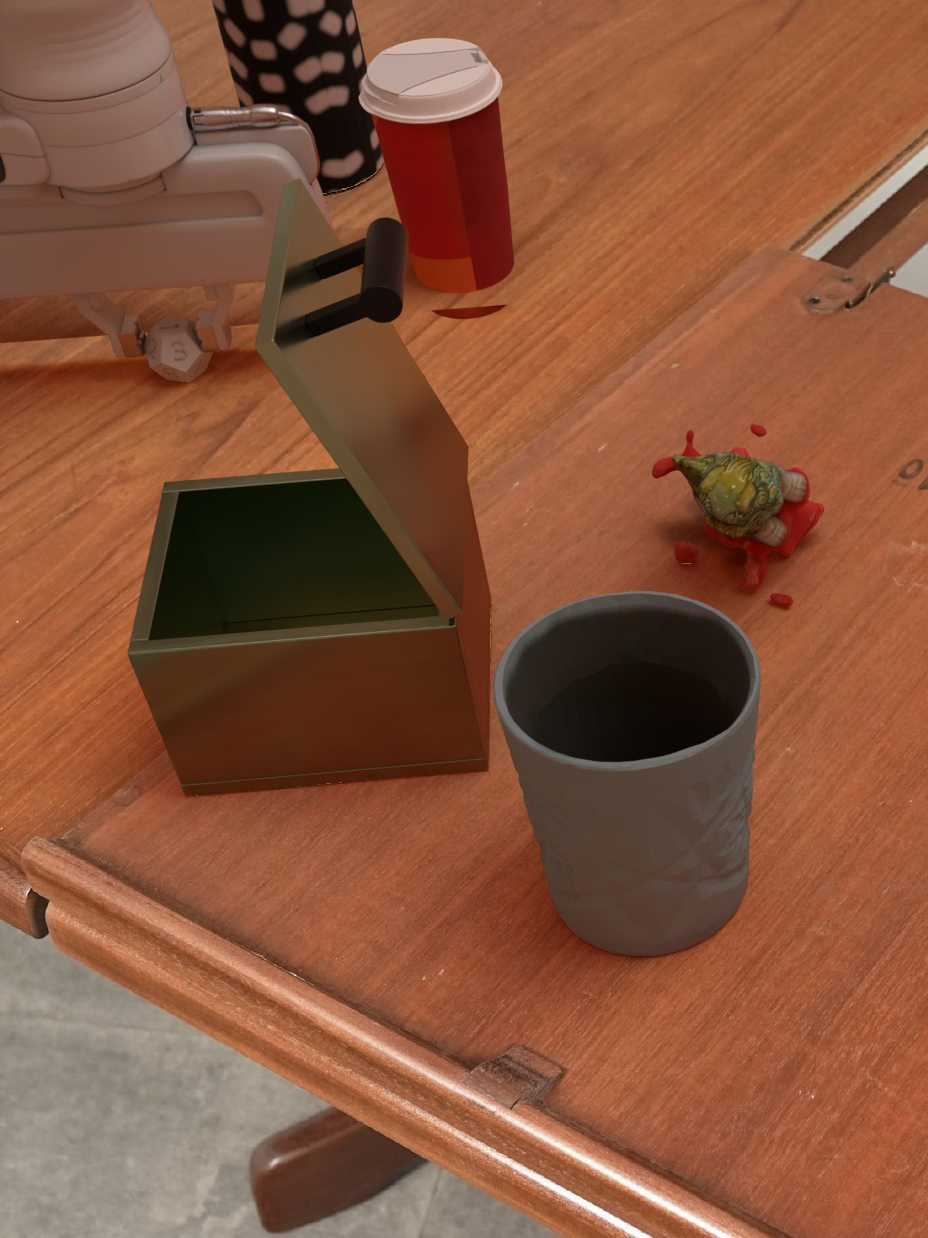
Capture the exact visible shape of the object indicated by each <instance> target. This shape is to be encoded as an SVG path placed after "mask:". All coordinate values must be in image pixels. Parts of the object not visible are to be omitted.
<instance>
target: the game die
mask: <svg viewBox="0 0 928 1238" xmlns="http://www.w3.org/2000/svg"><path fill="white" fill-rule="evenodd" d="M195 327H196V322H194V321H193V320H192V319H190V318H187V317H186V318H184V317H178V316H177V317H175V316H168V315H167V316H165V317H164V318H162V319H161V320H159V321H158V322H156V323H155V324H154V325H152V326H151V327H150V328H149V329H148V332H147V335H146V340H145V343H144V345H143V348H144V351H145V357H146V359H147V363H148V365H149V366H148V367H149V368H150V369H151V370H152V371H153V372H155V373H156V374H158V375H159V376H161V377H162V378H163V379H165V380H166V381H170V382H171V381H172V382H179V383H188V384H190V383H191V382H193V381H194V380H196V379H197V378H198V377H199V376H200V375H203V374H204V373H205V372H206V371H207V368H208V366H209V364H210V361H211V359H212V356H213V353H214V351H206V352H205V351H202V348H201V340H200V339H199V338H198V336H197V332H196V329H195Z"/></svg>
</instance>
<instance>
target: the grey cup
mask: <svg viewBox="0 0 928 1238" xmlns="http://www.w3.org/2000/svg"><path fill="white" fill-rule="evenodd" d="M492 680H493V681H492V695H493V704H494V707H495V710H496V713H497V716H498V720H499V723H500V725H501V729H502V732H503V735H504V738H505V741H506V745H507V748H508V750H509V754H510V759H511V761H512V764H513V767H514V770H515V771H516V772H517V774H518V778H517V780H518V784H519V787H520V789H521V792H522V795H523V796H522V798H523V802H524V805H525V808H526V812H527V816H528V820H529V823H530V825H531V827H532V833H533V837H534V839H535V842H537V843H539V847H540V848H539V849H540V850H539V857H540V861H541V865H542V868H543V872H544V876H545V881H546V883H547V888H548V892H549V895H550V898H551V901H552V904H553V906H554V909H555V910H556V913H557V914H558V916H559V917H560V918H561V920H562V921H563V923H564V924H565V926H566V927H567V928H568V929H569V930H570V931H571V932H572V933H573V934H574V935H575V936H576V937H577V938H578V939H579V938H580V940H582V941H584V942H586V943H587V944H589V945H590V946H593V947H594V948H596V949H599V950H602V951H605V952H609V953H612V954H616V955H622V956H627V957H657V956H662V955H668V954H672V953H675V952H681V951H682V950H685V949H688V948H691V947H693V946H695V945H698V944H699V943H701V942H703V941H706V939H709V938H710V937H711V936H713V935H714V934H716V933H717V932H718V931H720V929H722V928H723V927H724V926H725V925H726V924H727V922H729V920H730V919H731V918H732V917H733V915H735V913H736V912H737V909H738V908H739V906H740V904H741V902H742V901H743V897H744V896H745V893H746V890H747V886H748V882H749V881H748V880H749V872H750V852H751V851H750V849H751V847H750V836H751V835H750V834H751V827H750V824H749V822H748V819H749V817H750V816H751V814H752V812H753V796H754V795H753V794H754V784H753V783H754V769H755V768H754V767H755V766H754V765H753V764H754V762H755V759H756V758H755V756H756V748H755V746H756V745H755V744H756V739H757V730H758V728H757V727H758V718H759V707H760V696H761V685H762V671H761V665H760V660H759V657H758V654H757V651H756V650H755V648H754V645H753V643H752V641H751V640H750V639H749V637H748V636H747V634H746V633H745V632H744V631H743V629H742V628H741V627H740V626H739V625H738V624H736V623H735V622H734V621H733V620H732V619H731V618H729V617H728V616H727V615H725V613H723V612H722V611H720V610H718V609H716V608H714V607H713V606H711V605H708V604H706V603H704V602H702V601H699V600H696V599H693V598H690V597H686V596H683V595H679V594H676V593H668V592H661V591H653V590H628V591H620V592H613V593H605V594H597V595H592V596H589V597H585V598H582V599H579V600H578V599H577V600H576V601H571V602H567V603H566V604H564V605H562V606H559V607H557V608H555V609H553V610H551V611H548V612H546V613H545V614H543V615H542V616H540V617H538V618H537V619H536V620H534V621H532V622H531V623H530V624H529V625H528V626H526V627H525V628H524V629H522V630H521V631H520V632H519V633H518V635H516V636H515V637H514V638H513V640H512V641H511V642H510V643H509V644H508V646H507V647H506V648H505V650H504V651H503V653H502V655H501V657H500V659H499V661H498V663H497V666H496V668H495V672H494V676H493V679H492Z"/></svg>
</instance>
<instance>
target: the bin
mask: <svg viewBox="0 0 928 1238" xmlns="http://www.w3.org/2000/svg"><path fill="white" fill-rule="evenodd" d="M468 480H469V479H467V506H466V532H465V559H464V586H463V612H462V615H459V616H456V617H453V618H451V619H448V620H446V619H445V618H444V616H443V615H442V614H441V612H440V611H439V609H438V608H437V606H436V605H435V604H434V602H433V601H432V599H431V598H430V596H429V595H428V594H427V592H426V591H425V589H424V588H423V587H422V585H421V584H420V582H419V581H418V579H417V578H416V577H415V575H414V574H413V572H412V571H411V569H410V568H409V567H408V565H407V564H406V562H405V561H404V560H403V558H402V557H401V555H400V554H399V552H398V551H397V550H396V548H395V547H394V545H393V544H392V542H391V541H390V540H389V538H388V537H387V535H386V534H385V533H384V531H383V530H382V528H381V527H380V525H379V524H378V523H377V521H376V520H375V518H374V517H373V515H372V514H371V513H370V511H369V510H368V508H367V507H366V506H365V504H364V503H363V501H362V500H361V498H360V497H359V496H358V494H357V493H356V491H355V490H354V489H353V487H352V486H351V484H350V483H349V481H348V480H347V479H346V477H345V476H344V474H343V473H342V471H341V470H340V469H339V467H337V468H324V469H323V468H322V469H312V470H310V469H309V470H300V471H286V472H285V471H284V472H274V473H261V474H247V475H237V476H235V475H234V476H224V477H212V478H200V479H199V478H198V479H185V480H171V481H164V482H163V486H162V491H161V495H160V500H159V504H158V509H157V514H156V520H155V523H154V528H153V532H152V538H151V542H150V547H149V551H148V555H147V560H146V564H145V568H144V569H145V570H144V573H143V579H142V584H141V588H140V592H139V598H138V602H137V606H136V611H135V615H134V620H133V625H132V630H131V632H130V633H131V634H130V637H129V638H130V639H129V643H128V648H127V653H126V655H127V658H128V659H129V662H130V664H131V667H132V669H133V673H134V674H135V676H136V679H137V682H138V683H139V687H140V688H141V689H140V690H141V691H142V693H143V696H144V699H145V701H146V703H147V707H148V708H149V711H150V713H151V715H152V718H153V720H154V723H155V725H156V728H157V730H158V733H159V735H160V737H161V739H162V742H163V744H164V747H165V749H166V751H167V752H166V753H167V754H168V757H169V759H170V762H171V764H172V766H173V769H174V772H175V774H176V777H177V779H178V782H179V783H180V787H181V790H182V792H183V794H184V797H185V796H193V797H203V795H204V796H214V794H215V795H225V793H227V794H236V793H247V792H248V791H249V792H258V791H257V790H260V791H270V790H269V789H271V790H281V788H283V789H290V788H289V787H294V788H298V787H297V786H301V787H300V788H305V787H313V786H314V785H316V786H319V785H318V784H321V785H320V786H323V785H322V784H326V783H331V784H330V785H336V784H335V783H337V785H338V784H340V783H339V782H342V783H341V784H347V783H359V782H371V781H370V780H372V781H380V779H383V780H392V779H405V778H416V777H427V776H438V775H449V774H461V773H472V772H481V771H483V772H484V771H489V767H490V765H489V764H490V726H491V725H490V723H491V721H490V720H491V681H490V627H491V626H490V625H491V624H490V618H491V615H490V614H491V613H490V612H491V611H490V610H491V609H490V608H491V599H492V593H491V589H490V584H489V580H488V579H489V578H488V575H487V569H486V564H485V560H484V555H483V550H482V545H481V539H480V536H479V530H478V525H477V520H476V516H475V515H476V514H475V510H474V505H473V500H472V495H471V491H470V485H469V481H468ZM366 780H368V781H366ZM314 787H315V786H314ZM277 788H278V789H277ZM231 792H233V793H231ZM196 795H198V796H196Z"/></svg>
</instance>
